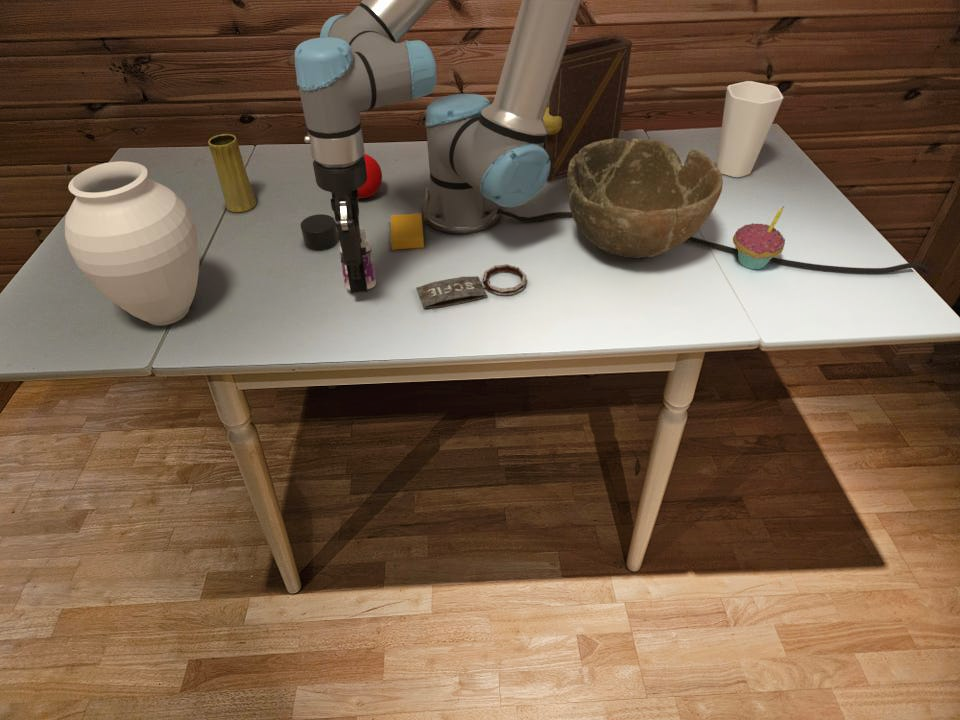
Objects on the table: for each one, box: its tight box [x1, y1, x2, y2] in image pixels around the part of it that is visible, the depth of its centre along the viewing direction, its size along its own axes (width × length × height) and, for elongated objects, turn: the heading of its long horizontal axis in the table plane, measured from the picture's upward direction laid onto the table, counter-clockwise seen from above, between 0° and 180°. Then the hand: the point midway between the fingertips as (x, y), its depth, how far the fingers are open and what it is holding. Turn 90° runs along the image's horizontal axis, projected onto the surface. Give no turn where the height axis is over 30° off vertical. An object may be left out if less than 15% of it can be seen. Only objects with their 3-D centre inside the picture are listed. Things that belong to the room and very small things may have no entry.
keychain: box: [415, 263, 527, 309], centre depth 113 cm, size 8×19×2 cm, turn 106°
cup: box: [716, 80, 784, 178], centre depth 138 cm, size 11×10×17 cm
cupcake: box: [732, 205, 786, 270], centre depth 115 cm, size 9×8×12 cm
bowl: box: [566, 137, 724, 259], centre depth 119 cm, size 28×27×15 cm
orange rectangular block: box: [390, 212, 425, 250], centre depth 126 cm, size 6×9×2 cm, turn 6°
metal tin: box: [300, 213, 339, 252], centre depth 124 cm, size 6×6×4 cm
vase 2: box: [207, 133, 257, 214], centre depth 131 cm, size 6×6×14 cm
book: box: [543, 34, 633, 182], centre depth 137 cm, size 22×8×25 cm, turn 120°
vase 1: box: [64, 161, 200, 327], centre depth 102 cm, size 18×18×25 cm
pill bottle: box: [339, 229, 377, 291], centre depth 112 cm, size 5×5×10 cm
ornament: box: [358, 153, 383, 199], centre depth 134 cm, size 9×9×10 cm
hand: (359, 290), depth 110 cm, fingers closed
